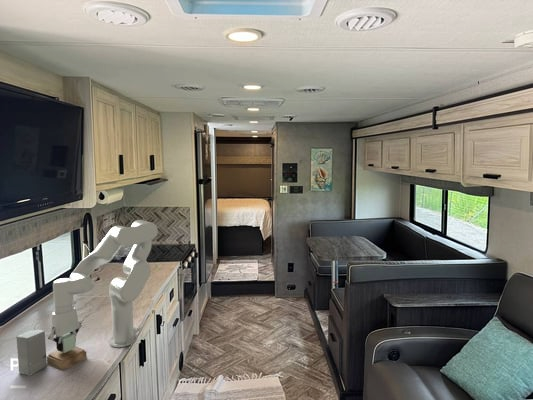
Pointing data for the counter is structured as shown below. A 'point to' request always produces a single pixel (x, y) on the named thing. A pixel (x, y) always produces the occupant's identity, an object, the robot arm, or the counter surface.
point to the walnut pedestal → (66, 358)
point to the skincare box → (31, 351)
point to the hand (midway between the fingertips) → (66, 347)
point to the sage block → (68, 342)
